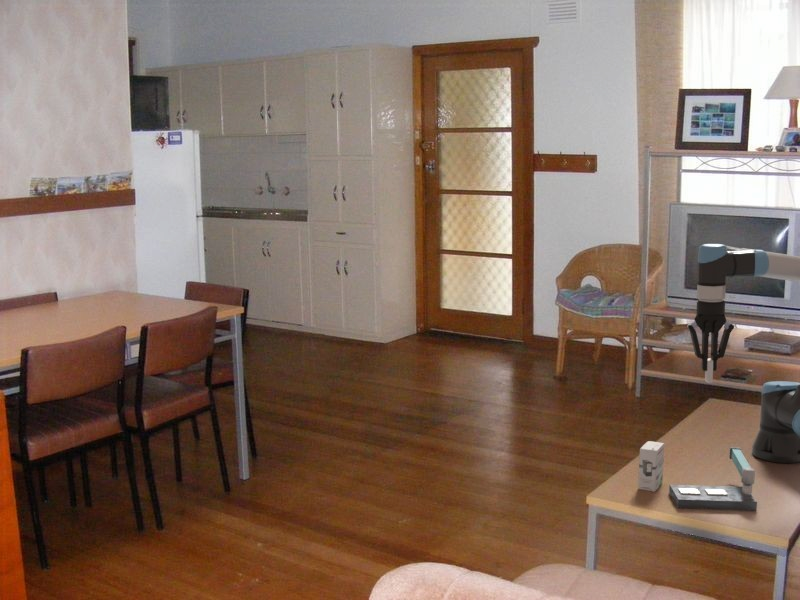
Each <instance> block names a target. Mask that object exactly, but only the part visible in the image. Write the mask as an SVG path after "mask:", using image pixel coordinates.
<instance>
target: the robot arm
mask: <svg viewBox="0 0 800 600" xmlns="http://www.w3.org/2000/svg"><path fill="white" fill-rule="evenodd" d="M696 261H697V287H696V288H697V291H696V298H697V300H696V316H695V318H694V321H692V322H691V323H686V328H687V330H688V331H689V332H690V337H691V343H692V345H693V350H694V351H693V352H694V355H695V356H696V357H697V359H701V370H702V371H703V372H704V382H705V383H707V384H713V383H714V378H713V377H714V372H715V371H717V364H718V363H717V361H718V360H719V359H720V358H721V359H722V358H724V357H725V353H726V350H727V346H728V342H729V339H730V335H731V333H732V332H733V330H734V328H735V325H734V324H733V323H731V322H729V321H727V318H726V314H725V313H726V312H725V311H726V301H725V299H726V287H727V286H726V284H727V283H726V282H727V279H731V278H750V277H751V278H756V277H762V278H767V279H774V280H782V281H790V282H796V283H800V256H798V255H792V254H785V253H778V252H772V251H765V250H763V249H755V248H754V249H751V248H745V247H742V248H741V247H739V246H738V247H737V246H731V245H726V244H722V243H721V244H720V243H704V244H701V245H700V246H699V247H698V252H697V260H696ZM697 328H699V330H700V331H701V347H700V343H699V338H698V335H697V333H698V332H696V330H697ZM723 328H724V329H723ZM721 329H723V332H722V336H721V339H720V343H719V334H720V330H721ZM709 337H711V338H710V339H709ZM709 340H710V341H709ZM709 342H710V357H709ZM718 343H719V345H718ZM760 396H761V401H760V419H759V429H758V432H757V434H756V436H755V438H754V441H753V443H752V445H751V447H752V448H751V454H752V455H753V456H754V457H756V458H758V459H761V460H763V461H767V462H772V463H779V464H797V463H800V382H798V381H781V380H778V381H776V380H775V381H773V380H772V381H768V382H765V383H763V385H762V389H761V393H760Z"/></svg>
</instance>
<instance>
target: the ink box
mask: <svg viewBox="0 0 800 600" xmlns="http://www.w3.org/2000/svg"><path fill="white" fill-rule="evenodd" d="M638 458H639V463H638V480H637V481H638V482H637V485H638V486H637V489H638V490H643V491H649V492H656V491H657V490H658V489H659V488H660V486H661V485H663V477H664V459H665V443H664V442H658V441H652V440H648V441H646V442H645V443H644V444H643V445H642V446H641V447H640V449H639V457H638Z"/></svg>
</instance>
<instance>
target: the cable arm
mask: <svg viewBox="0 0 800 600" xmlns="http://www.w3.org/2000/svg"><path fill="white" fill-rule="evenodd" d="M729 459H730V460H732V463H733V464H734V466H735V468H736V469H737V472H738V473H739V475H740V477H741V481H740V482H741V483H742V484H743V483H744V484H752V485H754V484H755V476H756V469H754V468H752V467H751V465H750V464H749V462H748V460H747V459H746V457H745V456H744V454H743V452H742V448H741V447H740V446H739V447H738V446H730V447H729Z"/></svg>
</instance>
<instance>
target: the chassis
mask: <svg viewBox="0 0 800 600" xmlns="http://www.w3.org/2000/svg"><path fill="white" fill-rule="evenodd" d="M668 489H669V491H668V495H669V496H670V497H671V500H672V501H673V503H674V504H675V506H676V508H677V509H682V510H683V509H685V510H710V511H711V510H714V511H715V510H716V511H739V512H740V511H747V512H749V511H751V512H757V510H758V509H757V507H758V501H757V500H756V499H755V498H754V496H753V484H744V483H742V486H733V485H731V486H729V485H727V486H726V485H698V484H697V485H691V484H669V488H668Z"/></svg>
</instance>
